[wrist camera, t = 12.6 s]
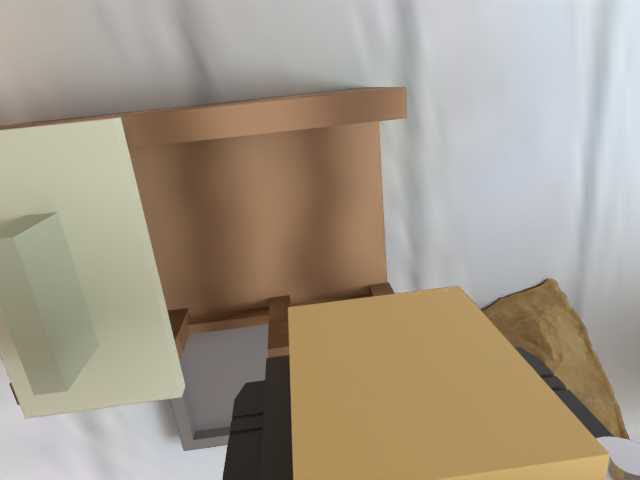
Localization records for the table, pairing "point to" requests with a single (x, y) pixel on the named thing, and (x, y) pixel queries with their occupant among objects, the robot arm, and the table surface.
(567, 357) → the rock
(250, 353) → the dish
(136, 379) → the lid
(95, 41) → the table surface
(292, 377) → the block
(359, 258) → the wooden drawer box
